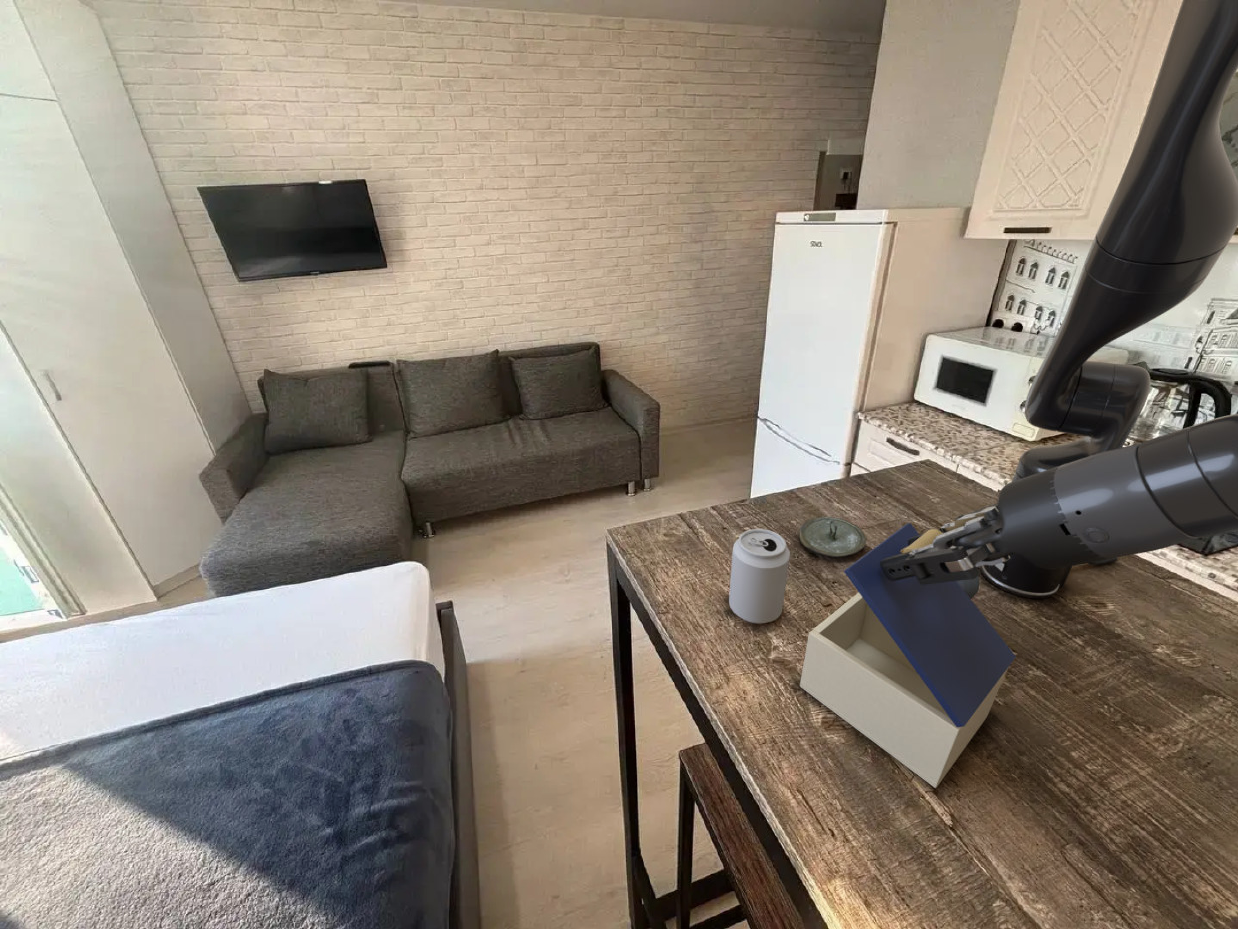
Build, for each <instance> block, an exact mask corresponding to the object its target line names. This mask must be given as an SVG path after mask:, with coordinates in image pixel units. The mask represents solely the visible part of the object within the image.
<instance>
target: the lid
mask: <svg viewBox="0 0 1238 929" xmlns="http://www.w3.org/2000/svg"><path fill="white" fill-rule="evenodd" d="M798 536H799V540H800V543H801V544H802V545H803V546H804V547H805V548H806V549H808V550H810V551H812V552H813V553H815V554H818V555H822V556H826V557H830V558H842V557H848V556H852V555H855V554H858V553H859V552H860V551H861V550H863V548H864V547H866V544H867V536H866V534H865V533H864V531H863V529H862V528H860V527H859V526H858V525H856V524H855V523H852V522H851V521H848V520H846V519H844V518H841V517H834V516H819V517H813V518H810V519H807V520H806V521H805V522H803V523H802V524H801V526H800V528H799V535H798Z"/></svg>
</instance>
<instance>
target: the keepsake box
mask: <svg viewBox="0 0 1238 929" xmlns="http://www.w3.org/2000/svg"><path fill="white" fill-rule="evenodd" d="M1008 670H1009V667H1008V668H1007V670H1006V671H1005V672H1004V674H1003V675H1002V676H1001V678H1000V679H999V680H998V682H997V683H996V684H995V686H994V687H993V688H992V690H991V691H990V692H989V694H988V695H987V696H986V698H985V699H984V701H983V702H982V703H981V705H980V706H979V707H978V709H977V710H976V711H975V713H974V714H973V715H972V717H971V718H970V719H969V721H968V722H967V723H966V725H965V726H964V727H956V726H955V724H954V723H953V721H952V720H951V719H950V717H949V716H948V714H947V713H946V712H945V710H944V709H943V708H942V706H941V705H940V703H939V702H938V701H937V699H936V698H935V697H934V695H933V694H932V692H931V691H930V690H929V688H928V687H927V686H926V684H925V683H924V681H923V680H922V679H921V677H920V676H919V675H918V673H917V672H916V670H915V669H914V668H913V666H912V665H911V663H910V662H909V661H908V659H907V658H906V657H905V655H904V654H903V652H902V651H901V650H900V648H899V647H898V646H897V644H896V643H895V641H894V640H893V639H892V637H891V636H890V635H889V633H888V632H887V630H886V629H885V628H884V626H883V625H882V623H881V622H880V621H879V619H878V618H877V617H876V615H875V614H874V612H873V611H872V610H871V608H870V607H869V606H868V604H867V603H866V601H865V600H864V599H863V597H862V596H861V595H860V593H859V592H857V593H856V594H855V595H854V596H852V597H851V598H850V599H849V600H848V601H846V602H845V603H843V605H841V606H840V607H838V609H836V610H835V611H834V612H832V613H831V614H830V615H829V616H828V617H827V618H825V619H824V620H823V621H822V622H820V623H819V624H818V625H817V626H816V627H814V628H813V629H812V630H811V631H809V633H808V637H807V642H806V649H805V653H804V660H803V666H802V671H801V677H800V682H799V687H800V688H801V689H802V690H804V691H806V693H808V694H809V695H811V696H812V697H813V698H814V699H816V700H817V701H819V702H820V703H821V704H822V705H824V706H825V707H826V708H828V709H829V710H830V711H832V712H833V713H834V714H835V715H838V717H840V718H841V719H843V720H844V721H845V722H846V723H848V724H849V725H851V727H853V728H854V729H855V730H857V731H858V732H860V733H861V734H862V735H864V736H865V737H866V738H868V739H869V740H871V741H872V742H873V743H874V744H876V745H877V746H878V747H880V748H881V749H883V750H884V751H885V752H887V754H889V755H891V756H892V757H893V758H894V759H896V760H897V761H898V762H900V763H901V764H903V765H904V766H905V767H907V769H909V770H911V771H912V772H913V773H915V774H916V775H917V776H919V777H920V778H921V779H922V780H923V781H925V782H926V783H928V784H929V785H930V786H932V787H933V788H934V789H937V787H938V786H939V785H940V784H941V782H942V780H943V779H944V778H945V776H946V775H947V773H948V772H949V771H950V769H951V768H952V766H954V764H955V763H956V761H957V759H958V758H959V757H960V756H961V754H962V752H963V751H964V750H965V748H966V747H967V746H968V744H969V743H970V741H971V740H972V739H973V738H974V736H975V735H976V733H977V732H978V730H979V729H980V727H981V726H982V725H983V723H984V722H985V721H986V719H987V717H988V715H989V713H990V711H991V709H992V707H993V704H994V701H995V699H996V698H997V695H998V693H999V690H1000V688H1001V686H1002V683H1003V682H1004V679H1005V676H1006V674H1007V672H1008Z"/></svg>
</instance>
